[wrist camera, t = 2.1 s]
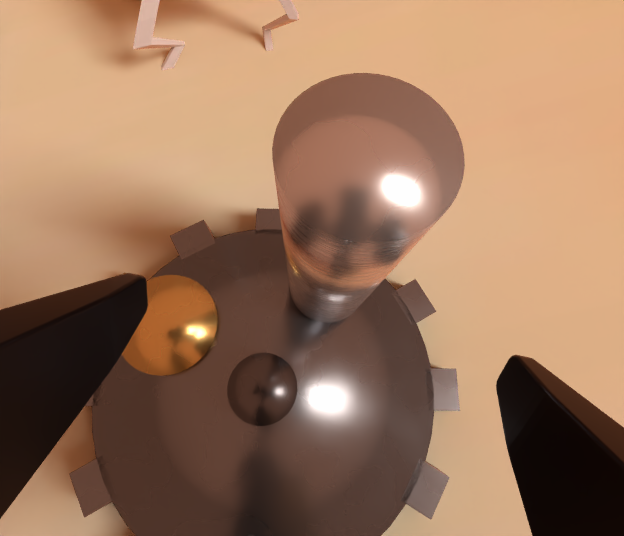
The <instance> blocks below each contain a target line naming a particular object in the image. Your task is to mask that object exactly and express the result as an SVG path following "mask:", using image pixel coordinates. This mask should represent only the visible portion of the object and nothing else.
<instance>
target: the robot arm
mask: <svg viewBox="0 0 624 536" xmlns="http://www.w3.org/2000/svg"><path fill="white" fill-rule="evenodd" d="M147 308H148V297H147V282H146V279H145V278H144V277H143V276H140V275H136V274H131V273H126V274H122V275H119V276H115V277H112V278H108V279H105V280H102V281H98V282H95V283H91V284H88V285H84V286H81V287H77V288H74V289H71V290H67V291H64V292H60V293H57V294H53V295H50V296H46V297H43V298H40V299H36V300H33V301H29V302H26V303H22V304H19V305H16V306H12V307H9V308H5V309H2V310H0V518H1V517H2V516H3V514H4V513H5V512H6V510H7V509H8V508H9V506H10V505H11V504H12V502H13V501H14V500H15V498H16V497H17V496H18V494H19V493H20V492H21V490H22V489H23V488H24V486H25V485H26V484H27V482H28V481H29V480H30V478H31V477H32V476H33V474H34V473H35V472H36V470H37V469H38V468H39V466H40V465H41V464H42V462H43V461H44V460H45V458H46V457H47V455H48V454H49V453H50V451H51V450H52V449H53V447H54V446H55V445H56V443H57V442H58V441H59V439H60V438H61V437H62V435H63V434H64V433H65V431H66V430H67V429H68V427H69V426H70V425H71V423H72V422H73V421H74V419H75V418H76V417H77V415H78V414H79V413H80V411H81V410H82V409H83V407H84V406H85V405H86V403H87V402H88V401H89V399H90V398H91V397H92V395H93V394H94V393H95V391H96V390H97V389H98V387H99V386H100V385H101V383H102V382H103V381H104V379H105V378H106V377H107V375H108V374H109V373H110V371H111V370H112V368H113V367H114V365H115V364H116V362H117V361H118V359H119V358H120V356H121V354H122V353H123V351H124V349H125V348H126V346H127V344H128V343H129V341H130V339H131V337H132V336H133V334H134V332H135V331H136V329H137V327H138V326H139V324H140V322H141V320H142V319H143V317H144V315H145V313H146V311H147ZM496 389H497V395H498V401H499V406H500V412H501V417H502V423H503V429H504V434H505V440H506V444H507V449H508V453H509V457H510V460H511V464H512V467H513V471H514V474H515V478H516V481H517V484H518V488H519V491H520V495H521V498H522V502H523V505H524V508H525V512H526V515H527V519H528V522H529V525H530V529H531V532H532V536H624V428H623V427H622V426H621V425H620V424H618V423H617V422H616V421H614V420H613V419H612V418H610V417H609V416H608V415H606V414H605V413H604V412H602V411H601V410H600V409H598V408H597V407H596V406H594V405H593V404H592V403H591V402H589V401H588V400H587V399H585V398H584V397H583V396H581V395H580V394H579V393H577V392H576V391H575V390H573V389H572V388H571V387H569V386H568V385H567V384H565V383H564V382H563V381H562V380H560V379H559V378H558V377H556V376H555V375H554V374H552V373H551V372H550V371H548V370H547V369H546V368H544V367H543V366H542V365H540V364H539V363H538V362H537V361H535V360H534V359H532V358H529V357H524V356H519V355H513V356H512V357H510V359H509V360H508V362H507V364H506V365H505V367H504V369H503V371H502V372H501V374H500V376H499V378H498V380H497V384H496Z"/></svg>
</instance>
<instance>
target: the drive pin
mask: <svg viewBox="0 0 624 536" xmlns="http://www.w3.org/2000/svg"><path fill="white" fill-rule="evenodd" d="M272 151H273V166H274V173H275V181H276V188H277V196H278V203H279V211H280V218H281V226H282V233H283V241H284V248H285V256H286V263H287V271H288V278H289V286H290V292H291V296H292V299H293V301H294V303H295V305H296V306H297V308H298V309H299V310H300V311H301V312H302V313H303V314H304V315H305V316H307V317H308V318H310V319H312V320H315V321H318V322H324V323H332V322H337V321H341V320H343V319H345V318H347V317H349V316H350V315H351V314H352V313H354V312H355V311H356V309H357V308H358V307H359V306H360V305H361V304H362V303H363V302H364V301H365V300H366V298H367V297H368V296H369V295H370V294H371V293H372V292H373V291H374V290H375V289H376V288H377V286H378V285H379V284H380V283H381V282H382V281H383V280H384V279H385V278H386V277H387V275H388V274H389V273H390V272H391V271H392V270H393V269H394V268H395V267H396V266H397V265H398V263H399V262H400V261H401V260H402V259H403V258H404V257H405V256H406V255H407V254H408V253H409V251H410V250H411V249H412V248H413V247H414V246H415V245H416V244H417V243H418V242H419V240H420V239H421V238H422V237H423V236H424V235H425V234H426V233H427V232H428V231H429V230H430V228H431V227H432V226H433V225H434V224H435V223H436V222H437V221H438V220H439V219H440V217H441V216H442V215H443V214H444V213H445V212H446V211H447V210H448V208H449V207H450V206H451V204H452V203H453V201H454V199H455V198H456V196H457V194H458V191H459V189H460V187H461V183H462V179H463V174H464V152H463V146H462V142H461V139H460V136H459V133H458V131H457V129H456V127H455V125H454V123H453V122H452V120H451V119H450V117H449V116H448V114H447V113H446V112H445V111H444V109H443V108H442V107H441V106H440V105H439V104H438V103H437V102H436V101H435V100H434V99H433V98H432V97H430V96H429V95H427V94H426V93H425V92H423V91H422V90H420V89H418V88H417V87H415V86H413V85H411V84H409V83H407V82H404V81H402V80H399V79H396V78H393V77H390V76H385V75H379V74H370V73H354V74H346V75H340V76H336V77H332V78H329V79H327V80H324V81H321V82H319V83H317V84H315V85H313V86H311V87H310V88H309V89H307V90H306V91H304V92H303V93H301V94H300V95H299V96H298V97H297V98H296V99H295V100H294V101H293V102H292V103H291V104H290V105H289V107H288V108H287V109H286V111H285V112H284V114H283V115H282V117H281V119H280V121H279V123H278V126H277V128H276V132H275V135H274V140H273V148H272Z"/></svg>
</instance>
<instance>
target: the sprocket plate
mask: <svg viewBox="0 0 624 536" xmlns="http://www.w3.org/2000/svg"><path fill="white" fill-rule="evenodd" d="M170 237H171V239H172V241H173V243H174V245H175V247H176V249H177V251H178V253H179V255H180V256H178V257H177V258H175V259H174V260H172V261H171V262H170V263H168V264H167V265H166V266H164V267H163V268H162V269H160V270H159V271H158V272H157V273H156V274H155V275H154V276H153V277H152V278H151V279H150V280H148V281H146V282H147V297H148V308H147V311H146V313H145V315H144V317H143V319H142V320H141V322H140V324H139V326H138V327H137V329H136V331H135V332H134V334H133V336H132V337H131V339H130V341H129V343H128V344H127V346H126V348H125V349H124V351H123V353H122V354H121V356H120V358H119V359H118V361H117V362H116V364H115V365H114V367H113V368H112V370H111V371H110V373H109V374H108V375H107V377H106V378H105V379H104V381H103V382H102V383H101V385H100V386H99V387H98V389H97V390H96V391H95V393H94V394H93V395H92V397H91V398H90V399H89V401H88V402H87V403H86V405H85V406H92V433H93V440H94V446H95V453H96V459H95V460H93V461H91V462H89V463H88V464H86V465H84V466H82V467H80V468H79V469H77V470H75V471H73V472H72V473H70V477H71V480H72V483H73V486H74V489H75V492H76V495H77V498H78V501H79V504H80V506H81V509H82V512H83V515H84V517H86V516H88V515H90V514H91V513H93V512H95V511H96V510H98V509H100V508H101V507H103V506H105V505H107V504H108V503H110V502H113V504H114V506H115V507H116V509H117V510H118V512H119V513H120V515H121V517H122V518H123V520H124V521H125V523H126V525H127V526H128V527H129V528H130V529H131V530H132V532H133V533H134V534H135V535H136V536H381V535H382V534H383V533H384V532H385V531H386V530H387V529H388V528H389V527H390V525H391V524H392V523H393V521H394V520H395V518H396V517H397V516H398V514H399V513H400V511H401V510H402V509H403V507H404V506H405V504H408V505H409V506H411V507H412V508H414V509H415V510H417V511H418V512H420V513H422V514H423V515H425V516H426V517H428V518H429V519H432V516H433V514H434V512H435V509H436V507H437V505H438V503H439V500H440V498H441V496H442V493H443V491H444V489H445V486H446V484H447V482H448V479H449V477H448V476H447V475H446V474H444V473H443V472H441V471H440V470H439V469H437V468H436V467H434V466H433V465H431V464H429V463H428V462H426V461H425V460H426V456H427V452H428V448H429V444H430V440H431V434H432V425H433V416H434V411H460V407H459V396H458V385H457V374H456V369H439V368H431V366H430V362H429V358H428V355H427V351H426V347H425V344H424V341H423V339H422V336H421V334H420V331H419V329H418V326H417V324H416V323H417V322H419V321H421V320H422V319H424V318H426V317H427V316H429V315H431V314H433V313H434V312H436V310H435V309H434V307H433V306H432V304H431V302H430V301H429V299H428V298H427V296H426V295H425V293H424V292H423V290H422V289H421V287H420V285H419V284H418V282H417V281H416V279H415V280H413V281H411V282H409V283H408V284H406V285H404V286H402V287H401V288H399V289H397V290H395V289H394V288H393V287H392V286H391V285H390V284H389V282H388V281H387V280H386V279H384V280H383V281H382V282H381V283H380V284H379V285H378V286H377V288H376V289H375V290H374V291H373V292H372V293H371V294H370V295H369V296H368V297H367V298H366V300H365V301H364V302H363V303H362V304H361V305H360V306H359V307H358V308H357V309H356V311H355V312H354V313H352V314H351V315H350V316H349V317H347V318H345V319H343V320H341V321H337V322H332V323H324V322H318V321H315V320H312V319H310V318H308V317H307V316H305V315H304V314H303V313H302V312H301V311H300V310H299V309H298V308H297V306H296V305H295V303H294V301H293V299H292V296H291V292H290V286H289V278H288V271H287V263H286V256H285V248H284V241H283V233H282V226H281V218H280V211H279V209H257V215H256V230H250V231H243V232H237V233H232V234H229V235H225V236H222V237H218V238H214V236H213V234H212V232H211V230H210V229H209V227H208V226H207V224H206V223H205V221H204V220H202V221H200V222H198V223H196V224H194V225H192V226H190V227H188V228H186V229H184V230H181V231H179V232H177V233H175V234H173V235H171V236H170ZM124 274H126V273H124Z"/></svg>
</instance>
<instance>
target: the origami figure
mask: <svg viewBox="0 0 624 536" xmlns="http://www.w3.org/2000/svg"><path fill="white" fill-rule="evenodd" d="M159 2H160V0H142V2H141V7H140V12H139V17H138V22H137V28H136V33H135V39H134V45H133V49H149V48H165V47H172V48H171V49H170V51H169V53H168V55H167V57H166V59H165V60H164V62H163V64H162V70H166V69H170V68H174V66H175V64H176V62H177V60H178V58H179V56H180V54H181V52H182V50H183V48H184V46H185V42H184V41H179V40H171V39H163V38H155V37H153V32H154V27H155V22H156V17H157V12H158V7H159ZM280 2H281V4H282V6H283V8H284V10H285V11H286V13H287V14H285V15H283V16H282V17H280V18H278V19H276V20H274V21H273V22H271V23H269V24H267V25H265V26H263V27H262V30H263V37H264V43H265V49H266V51H269V50H273V45H272V37H271V30H272V29H275V28H278V27H280V26H283V25H286V24H289V23H291V22H294V21H297V20H299V13H298V11H297V9H296V8H295V6H294V4H293V2H292V1H291V0H280Z"/></svg>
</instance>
